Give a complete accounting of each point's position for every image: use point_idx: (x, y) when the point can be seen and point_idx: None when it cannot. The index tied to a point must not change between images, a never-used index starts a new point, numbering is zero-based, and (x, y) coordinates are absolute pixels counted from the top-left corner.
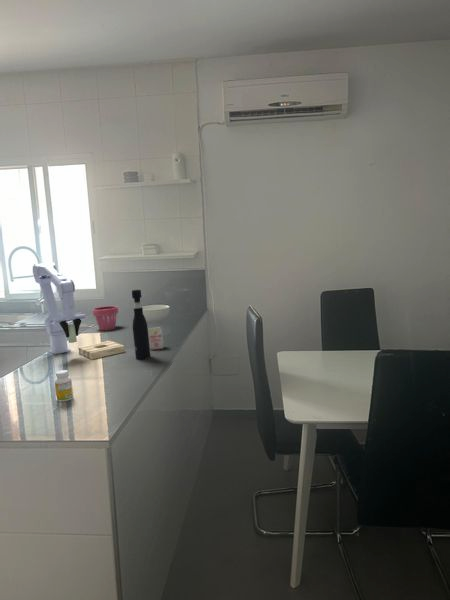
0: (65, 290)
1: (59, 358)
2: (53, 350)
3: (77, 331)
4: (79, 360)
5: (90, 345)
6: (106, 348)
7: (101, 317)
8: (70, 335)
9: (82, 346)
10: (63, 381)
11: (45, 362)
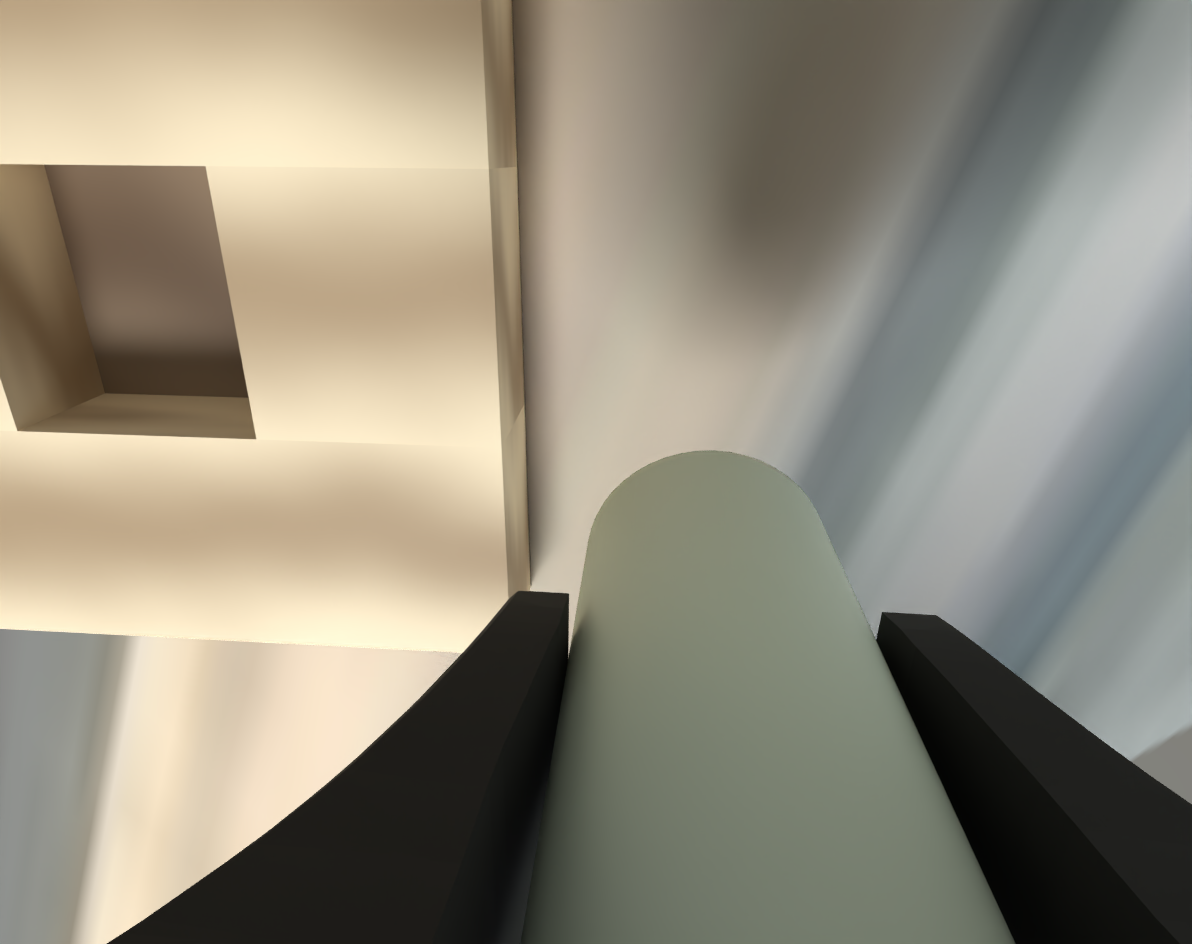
0: None
1: (893, 570)
2: None
3: (490, 674)
4: (728, 62)
5: (281, 590)
6: None
7: None
8: (845, 615)
9: (428, 649)
10: None
11: (1184, 526)
